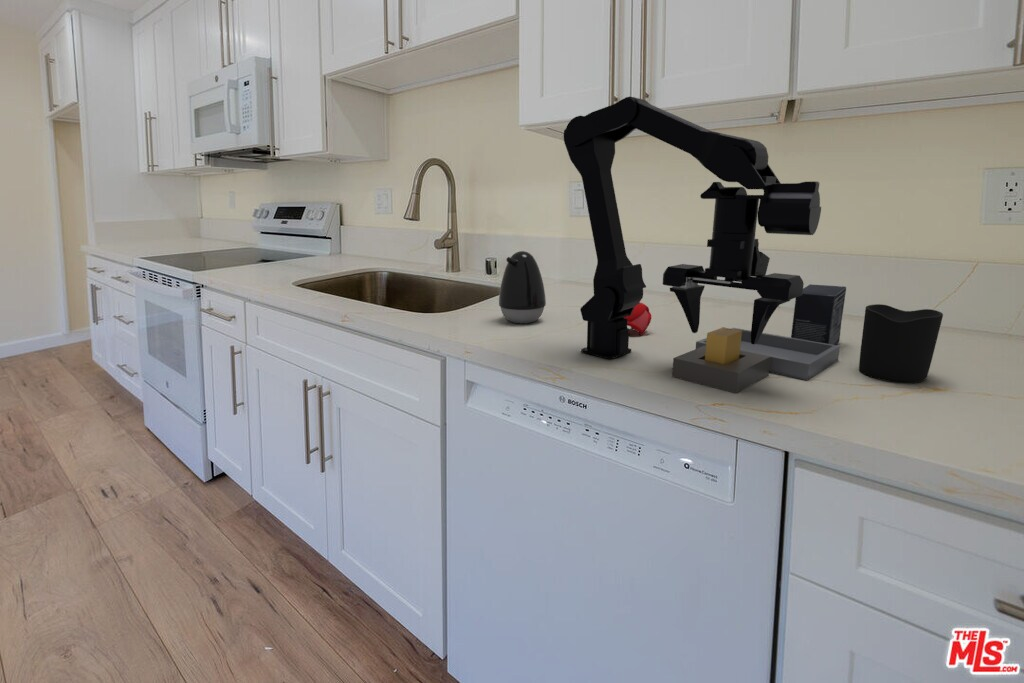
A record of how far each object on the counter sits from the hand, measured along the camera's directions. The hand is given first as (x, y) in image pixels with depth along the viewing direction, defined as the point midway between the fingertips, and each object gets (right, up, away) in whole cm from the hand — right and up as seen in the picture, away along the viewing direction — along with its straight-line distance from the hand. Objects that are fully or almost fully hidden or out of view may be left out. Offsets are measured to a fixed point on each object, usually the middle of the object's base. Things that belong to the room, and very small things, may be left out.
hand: (723, 337), depth 82 cm
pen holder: (+26, -6, +2) cm, 27 cm away
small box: (+23, -1, +17) cm, 29 cm away
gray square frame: (0, -6, +1) cm, 6 cm away
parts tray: (+11, -3, +10) cm, 15 cm away
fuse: (0, -6, +1) cm, 6 cm away
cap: (-8, +1, +28) cm, 29 cm away
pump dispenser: (-29, +4, +38) cm, 49 cm away
